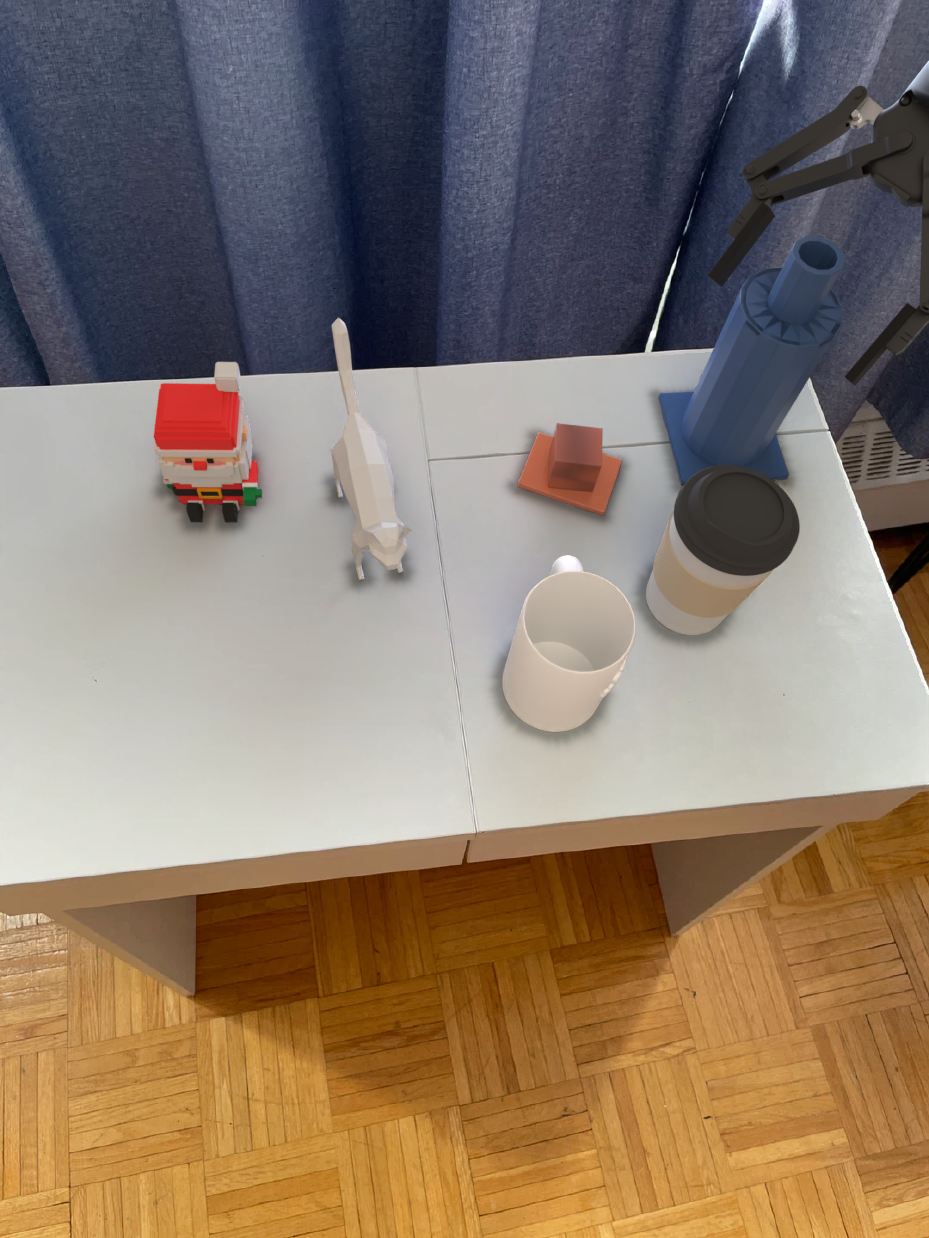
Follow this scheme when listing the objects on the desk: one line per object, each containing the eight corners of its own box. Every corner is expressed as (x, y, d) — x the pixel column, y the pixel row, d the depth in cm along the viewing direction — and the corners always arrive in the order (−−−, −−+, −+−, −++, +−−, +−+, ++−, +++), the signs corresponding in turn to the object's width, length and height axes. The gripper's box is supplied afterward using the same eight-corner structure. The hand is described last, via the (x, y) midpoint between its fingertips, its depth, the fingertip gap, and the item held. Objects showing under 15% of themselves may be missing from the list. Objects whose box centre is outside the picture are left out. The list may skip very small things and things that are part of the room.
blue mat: (759, 391, 89) (761, 387, 89) (787, 479, 85) (789, 475, 85) (658, 397, 88) (660, 393, 88) (681, 485, 84) (683, 482, 84)
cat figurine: (365, 626, 76) (360, 538, 63) (319, 428, 84) (307, 315, 71) (419, 615, 77) (425, 526, 64) (368, 421, 85) (365, 307, 72)
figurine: (162, 522, 78) (127, 436, 68) (170, 453, 82) (137, 359, 71) (265, 523, 79) (247, 437, 68) (269, 454, 82) (252, 361, 71)
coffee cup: (661, 534, 82) (715, 429, 68) (755, 584, 80) (829, 487, 67) (615, 612, 78) (662, 517, 65) (712, 666, 76) (781, 581, 63)
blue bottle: (784, 444, 86) (895, 270, 67) (720, 482, 84) (817, 312, 65) (727, 385, 89) (819, 201, 70) (663, 420, 86) (741, 239, 67)
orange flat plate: (621, 463, 85) (622, 459, 84) (603, 516, 82) (604, 512, 82) (537, 435, 85) (538, 431, 85) (517, 486, 83) (517, 483, 82)
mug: (601, 600, 78) (635, 525, 68) (605, 736, 73) (643, 678, 62) (503, 593, 78) (522, 517, 67) (500, 729, 73) (520, 670, 62)
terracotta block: (593, 455, 84) (602, 427, 80) (592, 492, 82) (602, 466, 79) (549, 450, 84) (556, 422, 80) (547, 487, 82) (554, 461, 79)
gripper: (1132, 183, 66) (911, 428, 74) (847, 10, 73) (673, 253, 81) (1154, 150, 60) (908, 422, 68) (838, -38, 66) (649, 232, 74)
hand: (780, 331), depth 74 cm, fingers open, 13 cm apart
